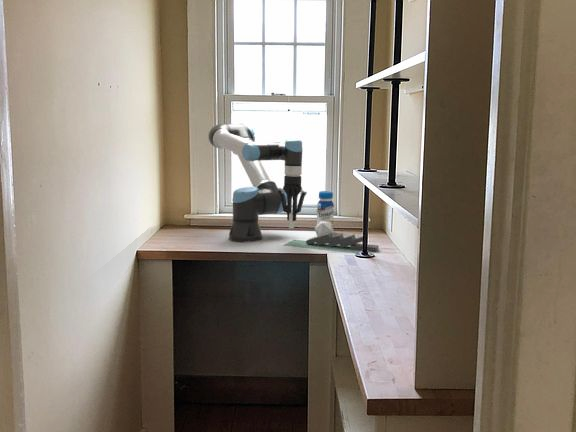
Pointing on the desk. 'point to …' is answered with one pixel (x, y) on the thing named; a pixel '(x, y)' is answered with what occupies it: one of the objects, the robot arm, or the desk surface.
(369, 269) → the desk surface
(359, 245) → the domino
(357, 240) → the domino
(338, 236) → the domino
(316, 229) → the die
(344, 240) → the domino
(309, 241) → the domino
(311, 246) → the mat
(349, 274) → the desk surface
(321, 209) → the beverage bottle
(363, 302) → the desk surface
